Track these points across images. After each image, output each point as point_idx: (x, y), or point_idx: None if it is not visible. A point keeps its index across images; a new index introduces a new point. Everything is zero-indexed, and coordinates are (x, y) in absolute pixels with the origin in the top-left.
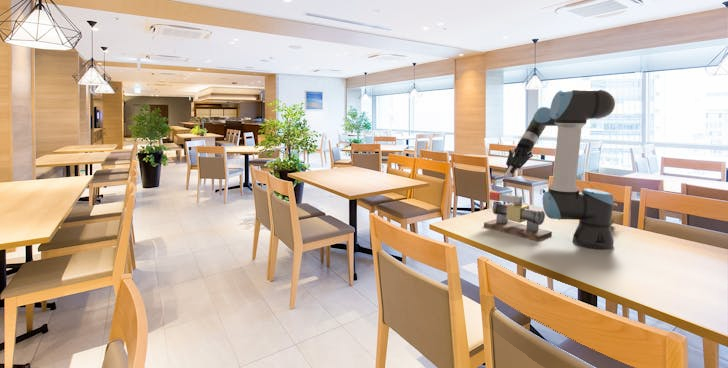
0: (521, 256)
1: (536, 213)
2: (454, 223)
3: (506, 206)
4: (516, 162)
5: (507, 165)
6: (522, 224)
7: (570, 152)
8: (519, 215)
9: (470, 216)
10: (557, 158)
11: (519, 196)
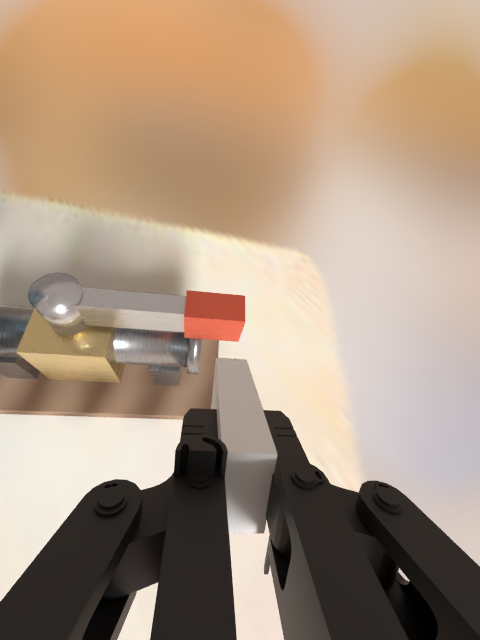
0: (19, 202)
1: None
2: (294, 299)
3: None
4: (178, 569)
5: (353, 498)
6: (94, 410)
7: None
8: None
9: (332, 405)
10: None
11: (50, 295)
